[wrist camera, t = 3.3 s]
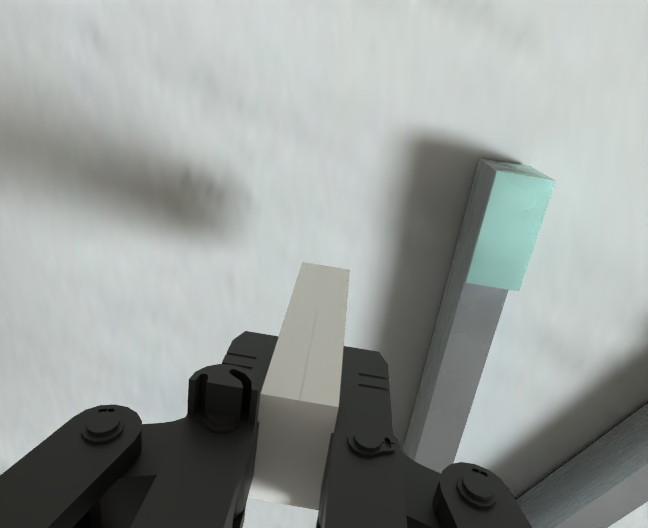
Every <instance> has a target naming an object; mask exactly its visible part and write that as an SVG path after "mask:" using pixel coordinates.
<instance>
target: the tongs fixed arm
mask: <svg viewBox="0 0 648 528" xmlns="http://www.w3.org/2000/svg"><path fill="white" fill-rule="evenodd" d="M516 501H517V503H518V505H519V506H520V508H521V510H522V511H523V513H524V515H525V516H526V518H527V520H528V521H529V523H530V525H531V526H532V528H608V527H609V526H611V525H612V524H614V523H615V522H617V521H618V520H620V519H621V518H623V517H624V516H626V515H627V514H629V513H630V512H632V511H633V510H635V509H637V508H638V507H640V506H641V505H643V504H644V503H646V502H647V501H648V403H647V404H646V405H644V406H643V407H642V408H640V409H639V410H638V411H636V412H635V413H634V414H632V415H631V416H629V417H628V418H627V419H625V420H624V421H623V422H621V423H620V424H619V425H617V426H616V427H615V428H613V429H612V430H610V431H609V432H608V433H606V434H605V435H604V436H602V437H601V438H600V439H598V440H597V441H595V442H594V443H593V444H591V445H590V446H589V447H587V448H586V449H585V450H583V451H582V452H581V453H579V454H578V455H576V456H575V457H574V458H572V459H571V460H570V461H568V462H567V463H566V464H564V465H563V466H561V467H560V468H559V469H557V470H556V471H555V472H553V473H552V474H551V475H549V476H548V477H547V478H545V479H544V480H542V481H541V482H540V483H538V484H537V485H536V486H534V487H533V488H532V489H530V490H529V491H527V492H526V493H525V494H523V495H522V496H521V497H519V498H518V499H517V500H516Z"/></svg>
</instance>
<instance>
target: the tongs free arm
mask: <svg viewBox="0 0 648 528" xmlns="http://www.w3.org/2000/svg"><path fill="white" fill-rule="evenodd" d="M554 183H555V180H553V179H551V178H549V177H548V176H546V175H544V174H543V173H541V172H539V171H537V170H536V169H534V168H532V167H531V166H526V165H520V164H513V163H507V162H501V161H494V160H488V159H482V158H479V162H478V166H477V169H476V173H475V177H474V181H473V185H472V188H471V192H470V196H469V200H468V204H467V207H466V211H465V215H464V219H463V223H462V226H461V230H460V234H459V238H458V242H457V245H456V249H455V253H454V257H453V261H452V264H451V268H450V272H449V276H448V280H447V283H446V287H445V291H444V295H443V299H442V302H441V306H440V310H439V314H438V318H437V321H436V325H435V329H434V333H433V337H432V340H431V344H430V348H429V352H428V355H427V359H426V363H425V367H424V371H423V374H422V378H421V382H420V386H419V390H418V393H417V397H416V401H415V405H414V409H413V412H412V416H411V420H410V424H409V428H408V431H407V435H406V439H405V443H404V447H403V450H402V451H403V452H404V454H406V455H407V456H408V457H409V458H411V459H412V460H413V461H415V462H417V463H419V464H421V465H423V466H425V467H427V468H430V469H432V470H434V471H436V472H439V473H442V470H444V469H445V468H446V467H447V466H449V465H450V464H453V462H454V459H455V456H456V453H457V450H458V447H459V444H460V440H461V437H462V434H463V431H464V428H465V425H466V422H467V418H468V415H469V412H470V409H471V406H472V403H473V400H474V396H475V393H476V390H477V387H478V384H479V381H480V377H481V374H482V371H483V368H484V365H485V362H486V359H487V355H488V352H489V349H490V346H491V343H492V340H493V337H494V333H495V330H496V327H497V324H498V321H499V318H500V315H501V311H502V308H503V305H504V302H505V299H506V296H507V293H508V290H514V291H519V290H520V287H521V284H522V281H523V278H524V275H525V272H526V269H527V265H528V262H529V259H530V256H531V253H532V250H533V247H534V244H535V241H536V238H537V235H538V232H539V229H540V226H541V223H542V220H543V217H544V214H545V211H546V207H547V204H548V201H549V198H550V195H551V192H552V189H553V186H554Z"/></svg>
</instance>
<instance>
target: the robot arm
mask: <svg viewBox="0 0 648 528" xmlns="http://www.w3.org/2000/svg"><path fill="white" fill-rule="evenodd" d="M349 272H350V270H347V269H341V268H334V267H328V266H322V265H316V264H310V263H304V262H302V265H301V268H300V271H299V275H298V278H297V281H296V284H295V287H294V290H293V293H292V297H291V300H290V303H289V306H288V309H287V312H286V315H285V319H284V322H283V325H282V328H281V331H280V334H279V337H278V336H272V335H266V334H260V333H254V332H248V331H245V332H244V333H242V334H241V335H239V336H238V337H237V338H235V339H234V340H233V341H232V343H231V345H230V347H229V349H228V351H227V355H225V357H224V360H223V362H222V364H217V365H212V366H207V367H205V368H202V369H200V370H198V371H196V372H195V373H194V374H193V375H192V376H191V378H190V379H189V390H188V414H187V416H186V417H185V418H182V419H179V420H176V421H172V422H166V423H155V424H142V421H141V419H140V417H139V416H138V414H137V413H136V412H135V411H133V410H131V409H130V408H128V407H124V406H119V405H100V406H97V407H94V408H90V409H87V410H85V411H83V412H81V413H80V414H78V415H76V416H74V417H73V418H72V419H70V420H69V421H68V422H67V423H65V424H64V425H63V426H62V427H60V428H59V429H58V430H57V431H55V432H54V433H53V434H52V435H50V436H49V437H48V438H47V439H45V440H44V441H43V442H42V443H40V444H39V445H38V446H37V447H35V448H34V449H33V450H32V451H30V452H29V453H28V454H27V455H25V456H24V457H23V458H22V459H20V460H19V461H18V462H17V463H15V464H14V465H13V466H12V467H10V468H9V469H8V470H7V471H5V472H4V473H3V474H2V475H0V528H242V527H243V523H244V516H245V507H246V501H247V498H248V494H249V498H252V499H258V500H263V501H269V502H275V503H281V504H287V505H292V506H298V507H304V508H310V509H315V510H319V512H318V518H317V524H316V528H532V526H531V525H530V523H529V521H528V520H527V518H526V516H525V515H524V513H523V511H522V510H521V508H520V506H519V505H518V503H517V501H516V500H515V498H514V496H513V495H512V493H511V491H510V490H509V489H508V487H507V486H506V485H505V484H504V482H503V481H502V480H501V479H500V478H499V477H497V476H496V475H495V474H493V473H492V472H490V471H489V470H487V469H485V468H483V467H480V466H478V465H475V464H470V463H463V462H460V463H455V464H450V465H449V466H447V467H446V468H445V469H444V470H442V473H439V472H436V471H434V470H432V469H430V468H427V467H425V466H423V465H421V464H419V463H417V462H415V461H413V460H412V459H411V458H409V457H408V456H407V455H406V454H404V452H403V451H402V450H401V449H400V446H399V443H398V440H397V439H396V438H395V437H394V436H393V432H392V417H391V403H390V392H389V380H388V379H389V375H388V364H387V363H386V361H385V360H384V358H383V357H382V356H381V354H380V353H379V352H376V351H370V350H364V349H358V348H352V347H346V346H344V335H345V322H346V310H347V297H348V285H349ZM249 490H250V492H249Z"/></svg>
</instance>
